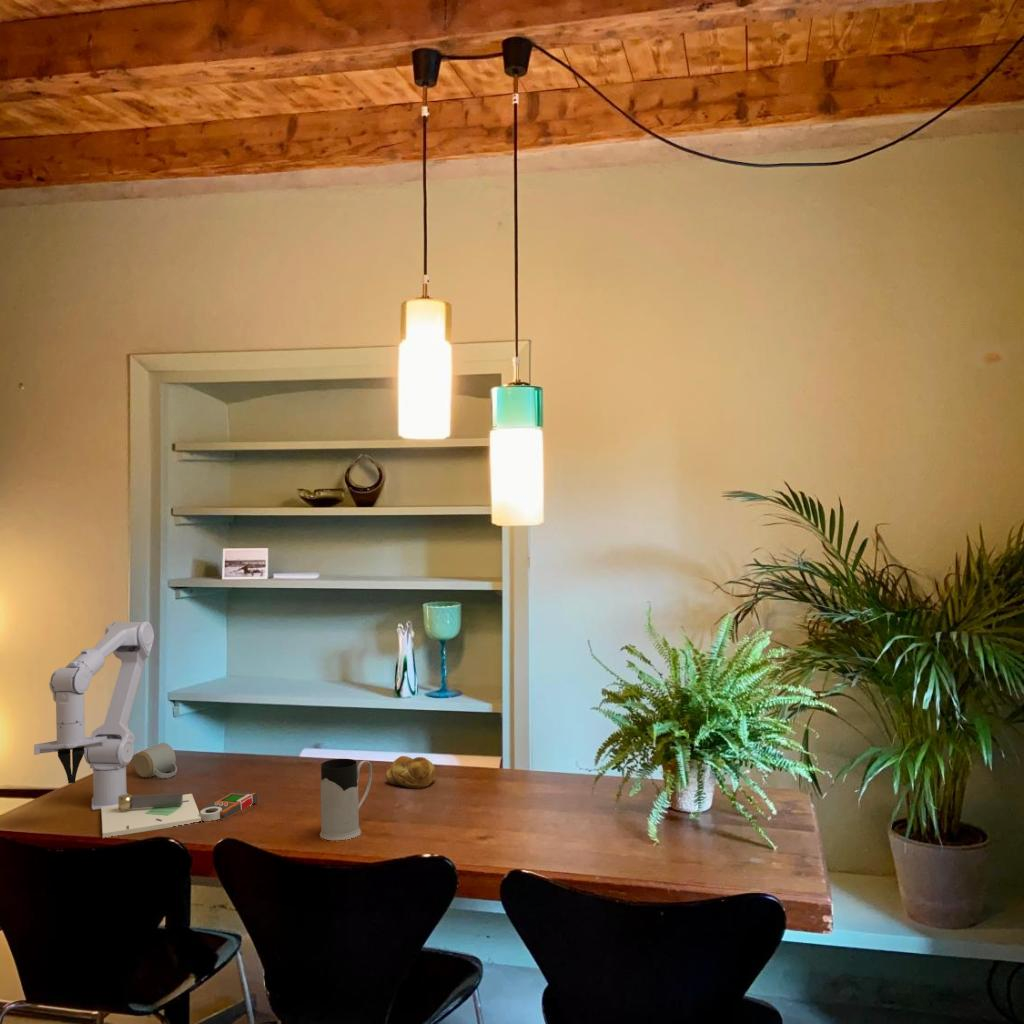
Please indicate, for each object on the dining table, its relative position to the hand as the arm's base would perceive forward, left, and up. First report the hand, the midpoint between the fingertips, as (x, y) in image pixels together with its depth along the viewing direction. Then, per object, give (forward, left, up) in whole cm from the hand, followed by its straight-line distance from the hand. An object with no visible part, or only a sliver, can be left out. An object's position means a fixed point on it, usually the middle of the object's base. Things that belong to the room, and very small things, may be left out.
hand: (71, 782), depth 200 cm
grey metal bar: (+1, +16, -8) cm, 18 cm away
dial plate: (+3, +16, -9) cm, 19 cm away
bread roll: (+9, +77, -10) cm, 78 cm away
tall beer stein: (+34, +54, -10) cm, 64 cm away
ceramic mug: (-32, +20, -10) cm, 39 cm away
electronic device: (+8, +32, -10) cm, 34 cm away
